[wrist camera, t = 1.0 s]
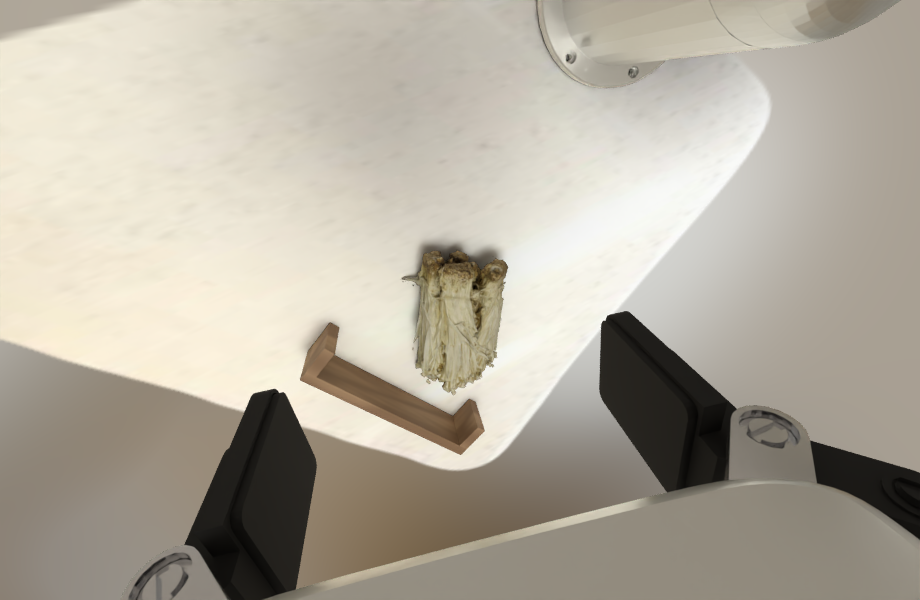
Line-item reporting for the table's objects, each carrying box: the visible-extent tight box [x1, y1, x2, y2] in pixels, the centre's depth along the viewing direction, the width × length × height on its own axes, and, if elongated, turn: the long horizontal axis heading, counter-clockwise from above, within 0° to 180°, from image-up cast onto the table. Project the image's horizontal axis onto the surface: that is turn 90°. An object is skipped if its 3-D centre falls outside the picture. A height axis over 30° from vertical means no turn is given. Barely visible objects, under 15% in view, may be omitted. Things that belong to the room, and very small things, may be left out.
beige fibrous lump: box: [402, 251, 508, 395], centre depth 39 cm, size 14×10×5 cm, turn 176°
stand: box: [300, 323, 485, 455], centre depth 41 cm, size 4×19×4 cm, turn 50°
